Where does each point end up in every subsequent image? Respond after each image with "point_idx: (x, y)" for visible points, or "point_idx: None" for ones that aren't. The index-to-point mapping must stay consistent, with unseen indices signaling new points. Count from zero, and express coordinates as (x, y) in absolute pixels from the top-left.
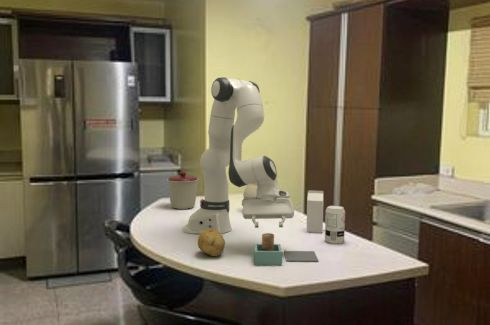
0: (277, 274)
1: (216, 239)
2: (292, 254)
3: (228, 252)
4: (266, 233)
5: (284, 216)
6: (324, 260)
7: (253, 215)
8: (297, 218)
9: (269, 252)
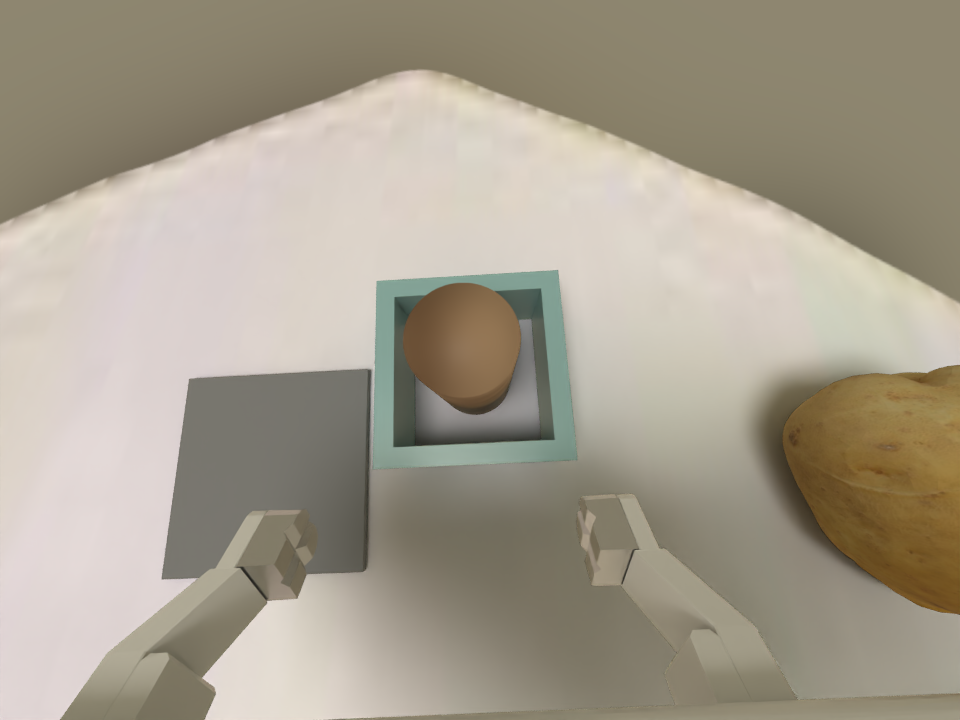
0: (430, 188)
1: (927, 391)
2: (317, 489)
3: (740, 536)
4: (477, 387)
5: (101, 682)
6: (155, 411)
7: (760, 704)
8: None
9: (460, 277)
